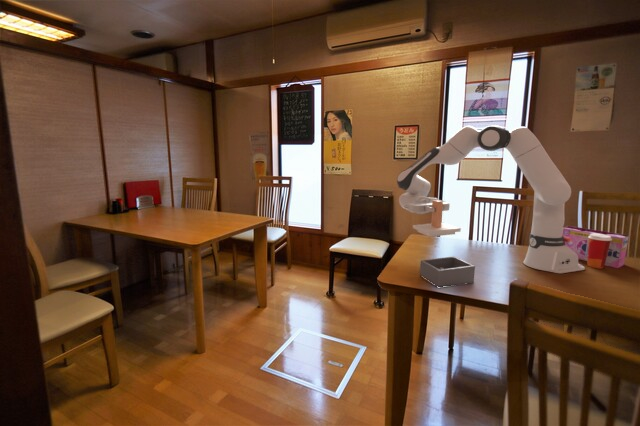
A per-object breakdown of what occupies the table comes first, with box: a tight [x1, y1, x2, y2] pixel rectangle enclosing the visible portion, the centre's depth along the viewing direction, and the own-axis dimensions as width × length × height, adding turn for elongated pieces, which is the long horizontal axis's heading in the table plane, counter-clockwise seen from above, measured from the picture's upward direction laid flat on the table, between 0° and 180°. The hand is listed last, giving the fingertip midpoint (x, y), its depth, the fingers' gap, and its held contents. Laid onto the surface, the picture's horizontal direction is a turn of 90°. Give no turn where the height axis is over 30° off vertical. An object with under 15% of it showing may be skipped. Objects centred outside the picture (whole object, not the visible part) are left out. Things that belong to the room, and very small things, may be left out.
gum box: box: [562, 225, 630, 269], centre depth 145 cm, size 24×8×14 cm, turn 32°
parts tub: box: [419, 255, 476, 287], centre depth 125 cm, size 16×12×7 cm
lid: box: [412, 199, 462, 237], centre depth 143 cm, size 16×12×15 cm
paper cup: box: [586, 233, 612, 269], centre depth 136 cm, size 8×8×14 cm
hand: (438, 209), depth 141 cm, fingers closed on lid, 2 cm apart
